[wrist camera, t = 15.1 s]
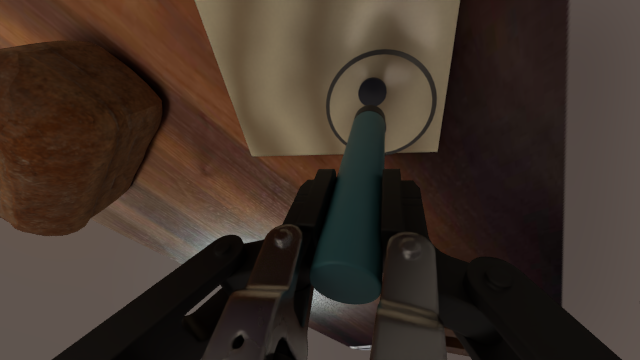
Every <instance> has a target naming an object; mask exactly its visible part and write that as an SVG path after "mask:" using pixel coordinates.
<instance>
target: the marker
mask: <svg viewBox="0 0 640 360" xmlns="http://www.w3.org/2000/svg"><path fill="white" fill-rule="evenodd" d="M384 159H385V115H384V112H383V111H382V110H381V109H380V108H379V107H377V106H374V105H366V106H363V107H362V108H360V109H359V110H358V111H357V113H356V115H355V118H354V121H353V125H352V128H351V131H350V135H349V138H348V142H347V145H346V148H345V152H344V155H343V159H342V162H341V166H340V169H339V172H338V176H337V179H336V183H335V186H334V189H333V193H332V196H331V200H330V203H329V207H328V210H327V213H326V217H325V220H324V224H323V227H322V230H321V234H320V237H319V241H318V244H317V248H316V251H315V254H314V258H313V261H312V265H311V268H310V271H309V279H310V282H311V284H312V286H313V287H314V288H315V289H316V290H317V291H318V292H319V293H321V294H322V295H324V296H325V297H327V298H330V299H332V300H334V301H338V302H341V303H346V304H366V303H369V302H372V301H374V300H376V299H377V298H378V297H379V295H380V294H381V288H382V266H383V251H382V248H381V210H382V175H383V169H384Z"/></svg>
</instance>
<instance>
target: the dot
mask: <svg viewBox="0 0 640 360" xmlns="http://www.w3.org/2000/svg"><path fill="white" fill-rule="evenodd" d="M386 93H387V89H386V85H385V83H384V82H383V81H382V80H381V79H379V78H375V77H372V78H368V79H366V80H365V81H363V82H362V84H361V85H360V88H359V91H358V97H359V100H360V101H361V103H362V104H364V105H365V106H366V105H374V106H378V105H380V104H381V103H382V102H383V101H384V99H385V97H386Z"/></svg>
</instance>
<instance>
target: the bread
mask: <svg viewBox="0 0 640 360" xmlns="http://www.w3.org/2000/svg"><path fill="white" fill-rule="evenodd" d="M161 117H162V100H161V99H160V98H159V97H158V95H157V94H156V93H155V92H154V91H153V90H152V89H151V88H150V87H149V86H148V84H147V83H146V82H145V81H143V80H142V79H141V78H140V77H139V76H138V75H137V74H136V73H135V72H134V71H132V70H131V69H130V68H129V67H127V66H126V65H125V64H124V63H122V62H121V61H120V60H118V59H117V58H116V57H114V56H113V55H111V54H110V53H108V52H107V51H106V50H104V49H103V48H101V47H99V46H97V45H95V44H93V43H91V42H84V41H52V42H43V43H35V44H28V45H22V46H16V47H10V48H4V49H0V218H3V219H4V220H6V221H8V222H9V223H10V224H11V225H12V226H13V227H14V228H15V229H17V230H20V231H22V232H27V233H32V234H36V235H42V236H63V235H68V234H71V233H74V232H76V231H78V230H80V229H81V228H83V227H85V226H86V224H87V223H88V221H89V219H90V218H91V217H93V216H95V215H96V214H98V213H99V212H101V211H102V210H103V209H105V208H106V207H107V206H109V205H110V204H111V203H113V202H114V201H116V200H117V199H118V198H119V197H120V196H121V195H123V194H124V193H125V192H126V191H127V190H128V189H129V187H130V184H131V182H132V179H133V177H134V175H135V173H136V171H137V169H138V167H139V165H140V164H141V162H142V160H143V158H144V155H145V152H146V150H147V147H148V145H149V143H150V141H151V139H152V138H153V136H154V134H155V133H156V131H157V129H158V127H159V124H160V122H161Z"/></svg>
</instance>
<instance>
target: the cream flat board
mask: <svg viewBox="0 0 640 360" xmlns="http://www.w3.org/2000/svg"><path fill="white" fill-rule="evenodd" d="M195 2H196V5H197V8H198V11H199V13H200V16H201V19H202V21H203V24H204V27H205V30H206V32H207V35H208V38H209V41H210V43H211V46H212V49H213V51H214V54H215V57H216V60H217V62H218V65H219V68H220V71H221V73H222V76H223V79H224V81H225V84H226V87H227V90H228V92H229V95H230V98H231V101H232V103H233V106H234V109H235V111H236V114H237V117H238V120H239V122H240V125H241V128H242V131H243V133H244V136H245V139H246V141H247V144H248V147H249V150H250V152H251V155H252V156H287V155H327V154H344V152H345V148H346V145H347V142H348V138H349V135H350V131H351V128H352V125H353V121H354V118H355V115H356V113H357V111H358V110H359V109H360V108H362V107H363V106H365V105H364V104H362V103H361V101H360V100H359V97H358V91H359V88H360V85H361V84H362V82H363V81H365V80H366V79H368V78H372V77H375V78H379V79H381V80H382V81H383V82H384V83H385V85H386V89H387V93H386V97H385V99H384V101H383V102H382V103H381V104H380V105H378V106H377V107H379V108H380V109H381V110H382V111H383V112H384V115H385V122H386V132H385V155H390V154H394V153H406V152H437V151H438V145H439V138H440V132H441V125H442V118H443V112H444V105H445V98H446V92H447V85H448V78H449V72H450V65H451V58H452V52H453V45H454V38H455V31H456V25H457V18H458V11H459V5H460V0H195Z"/></svg>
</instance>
